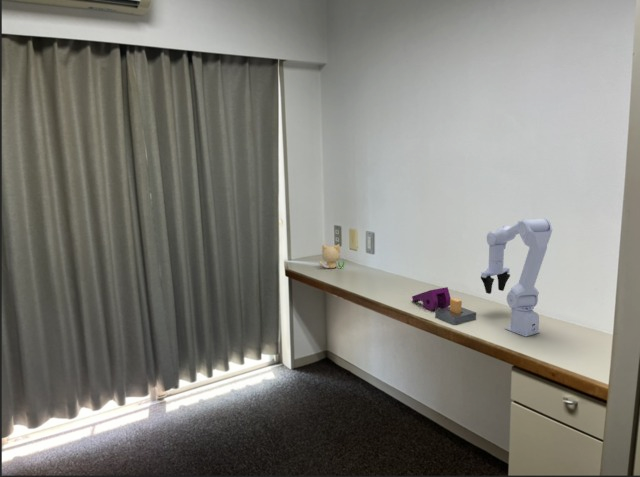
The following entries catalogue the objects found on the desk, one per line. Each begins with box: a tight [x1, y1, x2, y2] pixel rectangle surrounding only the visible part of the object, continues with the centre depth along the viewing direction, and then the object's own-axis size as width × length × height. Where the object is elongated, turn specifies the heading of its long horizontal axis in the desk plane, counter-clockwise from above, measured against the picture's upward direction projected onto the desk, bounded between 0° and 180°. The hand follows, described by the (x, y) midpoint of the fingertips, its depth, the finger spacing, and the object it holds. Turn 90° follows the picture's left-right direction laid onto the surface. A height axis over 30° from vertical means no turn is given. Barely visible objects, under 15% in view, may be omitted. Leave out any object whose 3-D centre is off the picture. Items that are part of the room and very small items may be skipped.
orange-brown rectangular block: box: [449, 297, 463, 314], centre depth 194 cm, size 4×2×8 cm, turn 29°
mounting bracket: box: [411, 287, 452, 312], centre depth 212 cm, size 9×8×18 cm
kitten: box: [318, 243, 345, 269], centre depth 285 cm, size 15×10×15 cm
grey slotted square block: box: [434, 306, 477, 326], centre depth 194 cm, size 11×12×3 cm
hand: (494, 291), depth 196 cm, fingers open, 7 cm apart
